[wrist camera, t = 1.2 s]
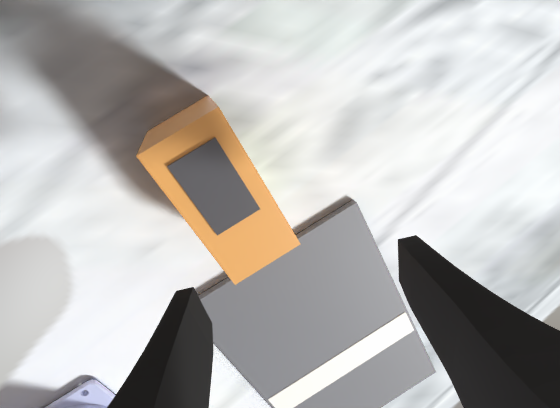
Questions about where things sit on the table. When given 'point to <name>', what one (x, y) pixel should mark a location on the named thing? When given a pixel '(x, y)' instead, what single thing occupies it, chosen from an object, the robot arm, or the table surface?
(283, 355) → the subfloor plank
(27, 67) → the table surface
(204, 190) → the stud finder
